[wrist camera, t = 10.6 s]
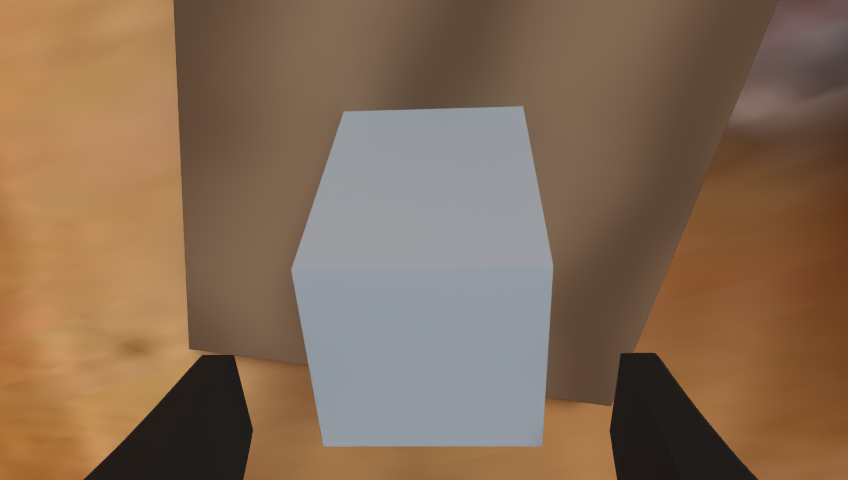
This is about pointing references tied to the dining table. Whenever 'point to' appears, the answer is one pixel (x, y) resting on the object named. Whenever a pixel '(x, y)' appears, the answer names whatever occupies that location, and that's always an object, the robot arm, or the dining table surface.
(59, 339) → the dining table surface
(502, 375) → the blue-grey block
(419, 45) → the walnut board
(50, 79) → the dining table surface
